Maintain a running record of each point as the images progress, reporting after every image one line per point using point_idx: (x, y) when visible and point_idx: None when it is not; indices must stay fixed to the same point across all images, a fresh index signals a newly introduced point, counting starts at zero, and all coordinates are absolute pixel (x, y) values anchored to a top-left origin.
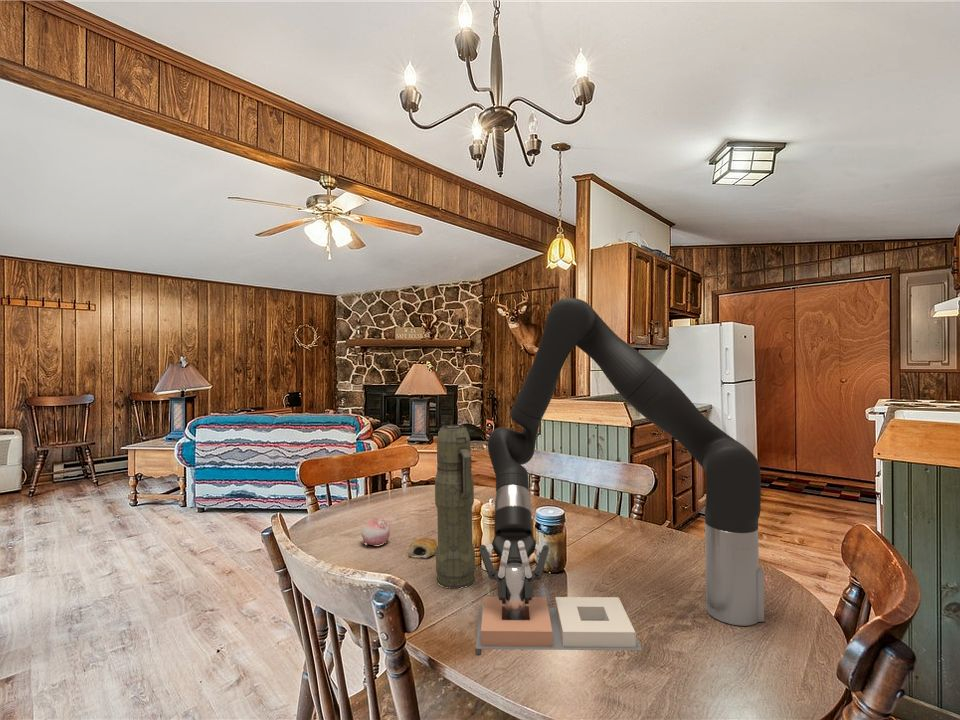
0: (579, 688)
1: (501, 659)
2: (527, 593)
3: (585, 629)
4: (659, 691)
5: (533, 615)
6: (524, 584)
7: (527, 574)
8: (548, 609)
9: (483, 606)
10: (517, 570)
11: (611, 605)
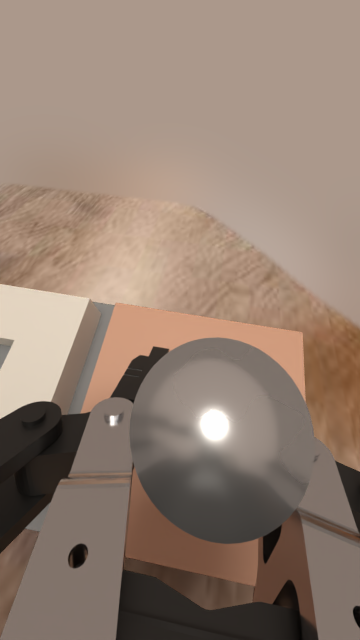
0: (120, 232)
1: (236, 316)
2: (154, 355)
3: (29, 299)
4: (8, 213)
5: None
6: None
7: (122, 409)
8: None
9: None
10: (207, 344)
11: None
